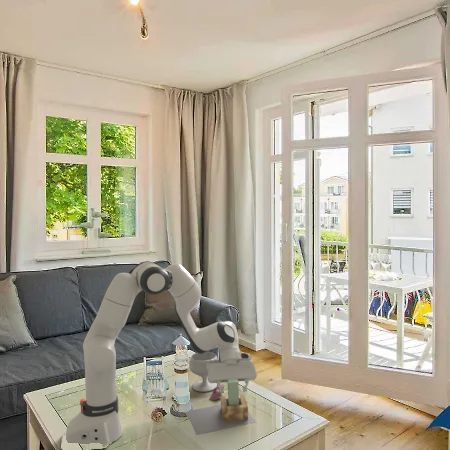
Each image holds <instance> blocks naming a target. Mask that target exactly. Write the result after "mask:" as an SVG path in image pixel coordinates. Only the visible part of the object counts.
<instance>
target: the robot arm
mask: <svg viewBox="0 0 450 450" xmlns="http://www.w3.org/2000/svg"><path fill="white" fill-rule="evenodd" d="M142 291H143V292H144V293H146V294H147V295H154V296H155V295H159V294H162V293H164V292H165V291H168V292H169V293H170V294H171V296H172V297H173V299H174V301H175V305H174V312H175V314H176V317H177V319H178V321H179V323H180V325H181V327H182V328H183V331H184V333H185V334H186V337H187V339H188V341H189V344H190V347H191V349H192V350H193V351H194V352H195V353H200V354H203V353H205V352H210V351H212V350H213V349H216V348H220V349H219V359H218V360H210V361H209V362H210V363H209V362H207V364H206V368H207V370H208V377H207V380H208V382H209V383H217V386H218V388H219V389H220V393H222V394H225V391H224V390H225V389H224V388H225V387H224V388H222V387H221V386H220V384H224V383H228V379H233V378H237V379H238V382H244V384H245V385H243V386H242V392H243V393H244V392H245V393H247V392H248V385H249V382H250V381H255V380H256V379H257V376H258V375H257V370H256V365H255V363H254V362H253V360H252V355H251V354H250V353H248V352H242V351H241V349H240V347H239V343H240V342H239V333H238V330H237V326H236V325H235V323H234V322H232V321H228V320H227V321H217V322H214V323H212V324H210V325H208V326H204V327H201V328H199V327H197V325H196V324H195V321H194V319H193V317H192V315H191V312H192V311H193V310H194V309H195V308H196V307H197V305H198V303H199V302H200V300H201V298H202V290H201V287H200V285H199V284H198V282H197V281H196V280H195V278H194V277H193V276H192V274H191V273H190V272H189V271H188V270H187V269H186V268H185V267H184V266H183V265H182V264H179V263H171V264H170V265H168V266H167V267H165V268H162V267H161V266H160V265H159V264H157V263H155V262H152V261H150V260H148V261H142V262H139V263H138V264H137V265H136V266H135V267H133V268H132V269H131V270H129V272H118V273H117V274H116V275H115V276H114V277H113V279H112V280H111V282H110V284H109V285H108V287H107V289H106V291H105V294H104V296H103V299H102V301H101V304H100V306H99V309H98V311H97V314H96V316H95V318H94V320H93V322H92V323H91V326H90V328H89V330H88V332H87V334H86V336H85V338H84V341H83V344H82V348H83V349H82V351H83V360H84V377H85V378H84V382H85V383H84V384H85V398H81V399H80V400H79V405H80V411H79V412H78V414H76V415H75V416H74V417H73V418H71V420H70V421H69V423H68V425H67V426H66V431H65V432H66V440H67V442H68V443H78V444H90V443H100V444H103V445H102V446H103V447H105V446H107V445H109V444H110V443H111V442H113V441H115V440H116V439H118V438H119V437H120V436H121V437H122V435H123V433H122V432H124V431H123V428H122V424H121V420H120V416H119V410H120V409H119V407H120V406H119V397H118V395H117V381H116V379H117V377H116V375H117V374H116V372H117V371H116V369H117V354H116V353H117V351H116V348H115V343H116V340H117V337H118V336H119V334H120V332H121V331H122V329H123V328H124V327H125V325H126V323H127V320H128V317H129V315H130V312H131V310H132V307H133V304H134V301H135V298H136V297H137V295H138V294H139V293H141V292H142ZM121 437H120V438H121ZM120 438H119V439H120ZM119 439H118V440H119ZM116 441H117V440H116ZM116 441H115V442H116ZM113 443H114V442H113ZM111 444H112V443H111ZM111 444H110V445H111ZM110 445H109V446H110Z"/></svg>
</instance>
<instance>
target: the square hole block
mask: <svg viewBox="0 0 450 450" xmlns="http://www.w3.org/2000/svg"><path fill="white" fill-rule="evenodd" d="M220 405H221V411H222V418H223V421H233V420H245V419H248V412H249V406H248V403H247V400H246V396H245V394H242V395H241V394H239V405H234V406H228V395H227V396H225V395H224V396H222V397H220Z"/></svg>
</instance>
